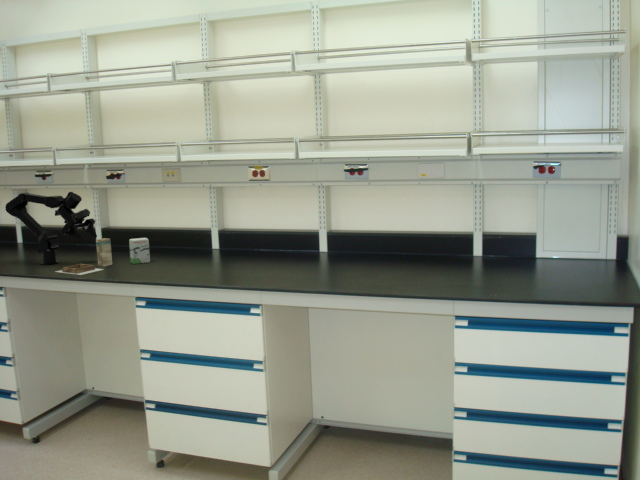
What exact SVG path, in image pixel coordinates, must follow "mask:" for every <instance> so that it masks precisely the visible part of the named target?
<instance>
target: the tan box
mask: <svg viewBox="0 0 640 480" xmlns="http://www.w3.org/2000/svg"><path fill="white" fill-rule="evenodd" d="M111 244H112V243H111V238H108V237H107V238H105V237H103V238H97V239H95V245H96V254H97V266H98V267H107V266H111V265H113V256H112V255H113V254H112V245H111Z"/></svg>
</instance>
